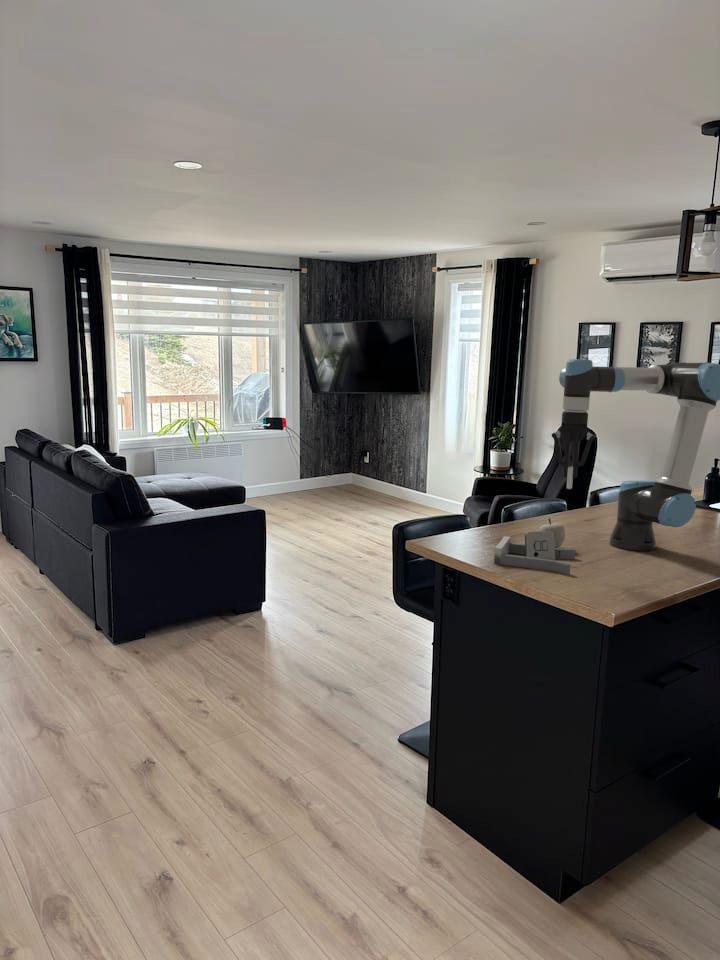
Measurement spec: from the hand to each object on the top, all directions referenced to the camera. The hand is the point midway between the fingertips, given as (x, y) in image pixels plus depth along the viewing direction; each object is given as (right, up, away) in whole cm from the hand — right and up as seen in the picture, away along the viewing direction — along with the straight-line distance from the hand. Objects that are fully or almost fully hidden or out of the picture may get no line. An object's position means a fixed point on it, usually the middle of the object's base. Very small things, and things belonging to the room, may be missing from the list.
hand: (569, 488), depth 217 cm
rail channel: (-9, -23, +7) cm, 26 cm away
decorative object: (+1, -21, +25) cm, 32 cm away
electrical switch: (-7, -23, +10) cm, 26 cm away
